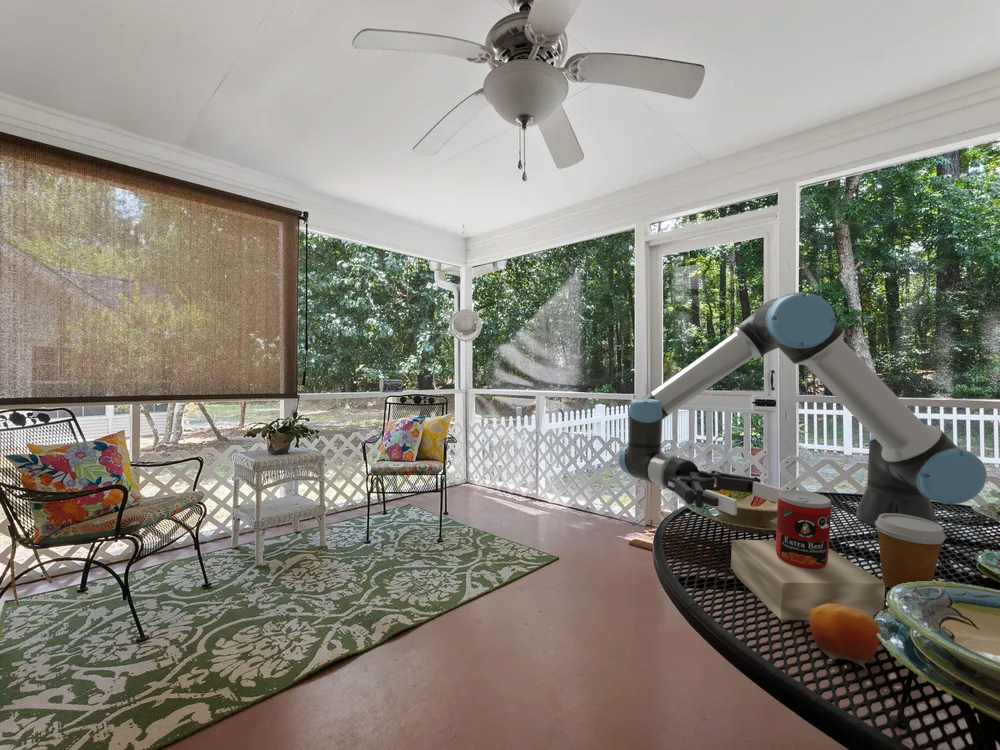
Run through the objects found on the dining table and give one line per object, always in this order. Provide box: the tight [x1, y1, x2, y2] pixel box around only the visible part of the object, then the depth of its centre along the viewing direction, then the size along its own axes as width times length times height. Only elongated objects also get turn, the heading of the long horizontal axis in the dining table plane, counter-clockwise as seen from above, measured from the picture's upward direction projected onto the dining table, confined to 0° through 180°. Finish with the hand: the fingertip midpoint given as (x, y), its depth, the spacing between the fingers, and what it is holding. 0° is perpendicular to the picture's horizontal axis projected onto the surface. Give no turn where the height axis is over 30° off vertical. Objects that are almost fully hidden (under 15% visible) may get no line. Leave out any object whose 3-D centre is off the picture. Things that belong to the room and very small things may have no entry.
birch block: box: [730, 539, 886, 621], centre depth 82 cm, size 16×16×6 cm
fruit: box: [809, 603, 882, 674], centre depth 66 cm, size 8×8×8 cm
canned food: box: [775, 489, 832, 569], centre depth 82 cm, size 8×8×11 cm
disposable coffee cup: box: [875, 513, 947, 589], centre depth 84 cm, size 10×10×12 cm
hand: (761, 502), depth 89 cm, fingers open, 13 cm apart
